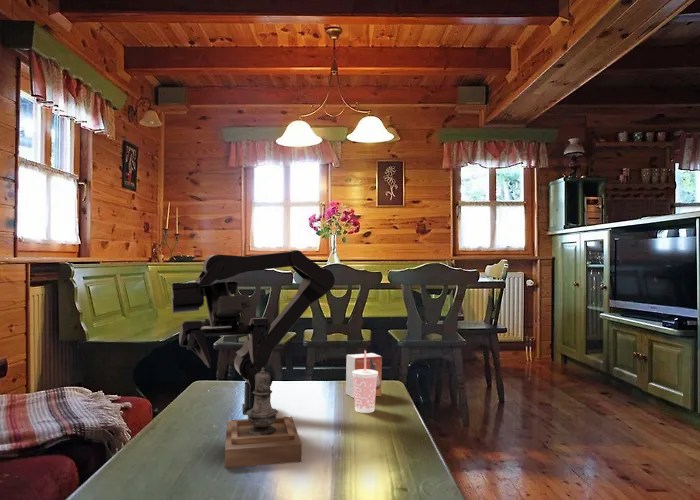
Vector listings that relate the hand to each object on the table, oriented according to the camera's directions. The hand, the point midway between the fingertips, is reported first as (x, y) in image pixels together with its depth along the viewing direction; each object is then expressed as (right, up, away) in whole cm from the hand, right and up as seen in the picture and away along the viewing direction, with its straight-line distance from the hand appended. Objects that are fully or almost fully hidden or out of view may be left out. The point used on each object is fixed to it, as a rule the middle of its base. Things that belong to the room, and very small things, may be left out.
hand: (232, 364), depth 104 cm
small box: (+28, -15, +29) cm, 43 cm away
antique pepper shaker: (+8, -11, -9) cm, 16 cm away
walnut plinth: (+8, -13, -9) cm, 18 cm away
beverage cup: (+28, -15, +15) cm, 35 cm away
